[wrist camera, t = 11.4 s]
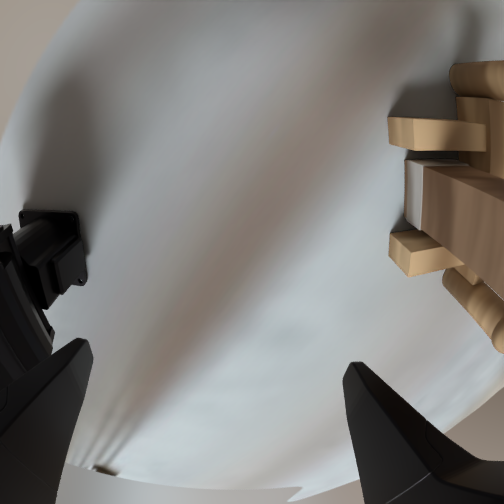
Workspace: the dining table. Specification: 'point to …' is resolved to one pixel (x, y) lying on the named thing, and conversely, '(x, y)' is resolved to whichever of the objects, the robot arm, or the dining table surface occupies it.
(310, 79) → the dining table surface
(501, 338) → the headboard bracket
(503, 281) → the block
